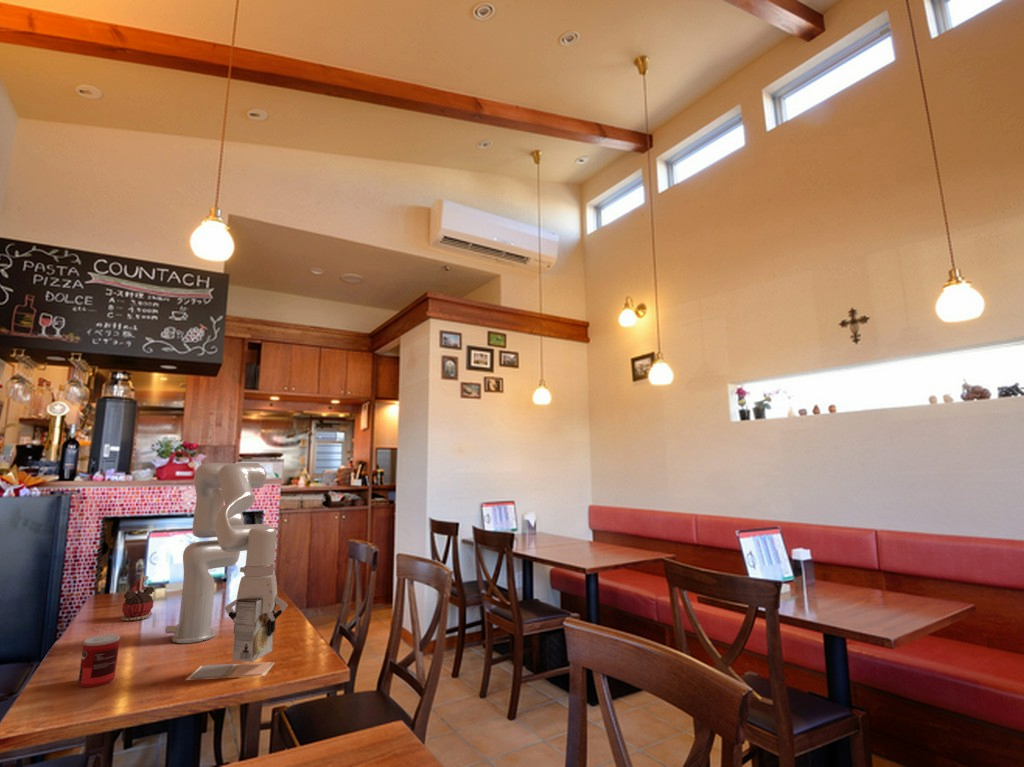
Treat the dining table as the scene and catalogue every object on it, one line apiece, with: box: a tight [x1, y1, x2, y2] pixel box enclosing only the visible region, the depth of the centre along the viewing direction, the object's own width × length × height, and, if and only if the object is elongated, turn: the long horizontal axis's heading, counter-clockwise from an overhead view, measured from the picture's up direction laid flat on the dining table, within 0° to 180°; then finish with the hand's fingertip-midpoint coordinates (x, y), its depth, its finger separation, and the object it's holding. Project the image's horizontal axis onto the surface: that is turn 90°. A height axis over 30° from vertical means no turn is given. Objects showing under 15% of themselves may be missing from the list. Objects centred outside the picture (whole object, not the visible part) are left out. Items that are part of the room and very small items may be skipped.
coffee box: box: [232, 599, 276, 663], centre depth 148 cm, size 9×6×16 cm
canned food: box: [78, 633, 121, 688], centre depth 140 cm, size 8×8×11 cm
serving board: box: [185, 661, 276, 681], centre depth 145 cm, size 20×10×1 cm, turn 100°
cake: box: [120, 568, 155, 621], centre depth 200 cm, size 11×9×18 cm
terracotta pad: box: [230, 661, 271, 678], centre depth 146 cm, size 8×9×1 cm
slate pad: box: [190, 663, 235, 680], centre depth 144 cm, size 8×9×1 cm
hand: (254, 635), depth 147 cm, fingers closed on coffee box, 7 cm apart
